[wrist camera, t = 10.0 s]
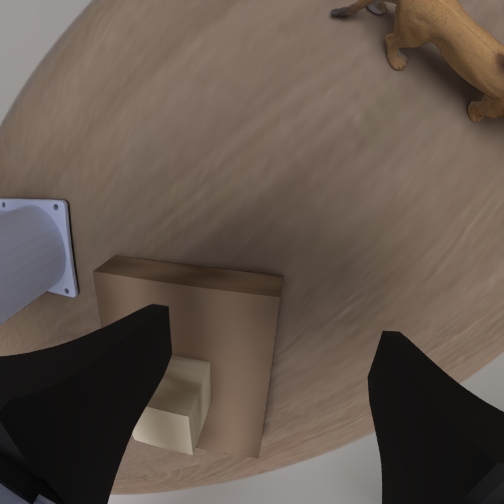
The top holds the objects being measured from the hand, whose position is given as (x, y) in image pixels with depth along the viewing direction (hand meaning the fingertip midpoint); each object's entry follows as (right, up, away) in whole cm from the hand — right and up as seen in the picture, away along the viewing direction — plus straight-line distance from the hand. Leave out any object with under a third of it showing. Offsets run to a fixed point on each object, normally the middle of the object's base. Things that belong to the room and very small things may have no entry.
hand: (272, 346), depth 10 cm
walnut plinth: (-5, -5, +14) cm, 16 cm away
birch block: (-6, -6, +11) cm, 13 cm away
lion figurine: (+11, +15, +5) cm, 19 cm away
